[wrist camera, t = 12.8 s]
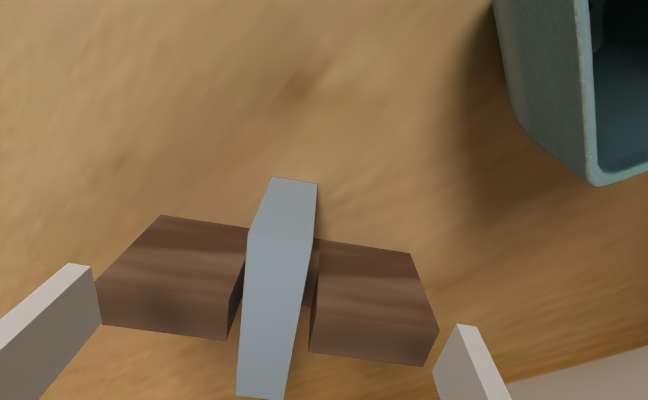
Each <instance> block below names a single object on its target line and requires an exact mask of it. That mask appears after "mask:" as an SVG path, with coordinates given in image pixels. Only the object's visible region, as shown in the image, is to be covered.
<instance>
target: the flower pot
mask: <svg viewBox="0 0 648 400" xmlns="http://www.w3.org/2000/svg"><path fill="white" fill-rule="evenodd" d="M492 6H493V11H494V16H495V21H496V27H497V33H498V38H499V44H500V49H501V54H502V60H503V66H504V71H505V77H506V83H507V89H508V94H509V99H510V103H511V107H512V109H513V112H514V115H515V117H516V119H517V121H518V123H519V124H520V126H521V127H522V129H523V130H524V131H525V132H526V134H527V135H528V136H529V137H530V138H531V139H533V140H534V141H535V142H536V143H537V144H538V145H539V146H541V147H542V148H543V149H544V150H546V151H547V152H548V153H550V154H551V155H552V156H553V157H555V158H556V159H557V160H558V161H560V162H561V163H562V164H563V165H565V166H566V167H567V168H569V169H570V170H571V171H572V172H574V173H575V174H576V175H578V176H579V177H580V178H582V179H583V180H584V181H585V182H587V183H588V184H589V185H590V186H592V187H597V188H600V187H604V186H608V185H611V184H614V183H617V182H620V181H623V180H626V179H629V178H631V177H634V176H637V175H640V174H642V173H645V172H648V0H492Z"/></svg>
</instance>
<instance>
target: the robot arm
mask: <svg viewBox="0 0 648 400" xmlns="http://www.w3.org/2000/svg"><path fill="white" fill-rule="evenodd" d="M101 323H102V319H101V314H100V309H99V304H98V300H97V295H96V290H95V285H94V280H93V275H92V271H91V266H85V265H78V264H72V263H67V264H66V265H65V266H64V267H63V268H61V269H60V270H59V271H58V272H57V273H55V274H54V275H53V276H52V277H51V278H49V279H48V280H47V281H46V282H45V283H43V284H42V285H41V286H40V287H39V288H37V289H36V290H35V291H34V292H33V293H31V294H30V295H29V296H28V297H27V298H25V299H24V300H23V301H22V302H21V303H20V304H18V305H17V306H16V307H15V308H14V309H12V310H11V311H10V312H9V313H8V314H6V315H5V316H4V317H3V318H2V319H0V400H38V399H39V398H40V397H41V396H42V394H43V393H44V392H45V391H46V390H47V388H48V387H49V386H50V385H51V384H52V382H53V381H54V380H55V379H56V378H57V376H58V375H59V374H60V373H61V371H62V370H63V369H64V368H65V367H66V365H67V364H68V363H69V362H70V361H71V359H72V358H73V357H74V356H75V355H76V353H77V352H78V351H79V350H80V348H81V347H82V346H83V345H84V344H85V342H86V341H87V340H88V339H89V338H90V336H91V335H92V334H93V333H94V332H95V330H96V329H97V328H98V327H99V325H100V324H101ZM432 374H433V377H434V381H435V384H436V387H437V391H438V394H439V398H440V400H512V399H511V397H510V395H509V393H508V391H507V389H506V387H505V384H504V382H503V380H502V378H501V376H500V374H499V372H498V370H497V368H496V366H495V364H494V362H493V360H492V358H491V356H490V354H489V351H488V349H487V347H486V345H485V343H484V341H483V339H482V337H481V335H480V333H479V331H478V329H477V327H476V326H469V325H463V324H457V323H456V325H455V327H454V329H453V331H452V333H451V335H450V337H449V339H448V341H447V342H446V344H445V346H444V348H443V350H442V352H441V354H440V356H439V358H438V360H437V362H436V364H435V366H434V368H433V370H432Z"/></svg>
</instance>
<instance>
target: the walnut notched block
mask: <svg viewBox="0 0 648 400" xmlns="http://www.w3.org/2000/svg"><path fill="white" fill-rule="evenodd" d="M249 230H250V229H248V228H242V227H236V226H229V225H223V224H216V223H210V222H203V221H197V220H190V219H184V218H178V217H171V216H165V215H160V216H159V217H158V218H157V219H156V220H155V221H154V222H153V223H152V224H151V225H150V226H149V227H148V228H147V229H146V230H145V231H144V232H143V233H142V234H141V235H140V236H139V237H138V238H137V239H136V240H135V241H134V242H133V243H132V244H131V245H130V246H129V247H128V249H127V250H126V251H125V252H124V253H123V254H122V255H121V256H120V257H119V258H118V259H117V260H116V261H115V262H114V263H113V264H112V265H111V266H110V267H109V268H108V269H107V270H106V271H105V272H104V273H103V274H102V275H101V276H100V277H99V278H98V279H97V280H96V281H95V288H96V293H97V299H98V304H99V309H100V314H101V319H102V325H109V326H117V327H125V328H132V329H140V330H147V331H155V332H162V333H170V334H177V335H185V336H193V337H200V338H208V339H215V340H223V341H226V340H227V337H228V335H229V332H230V329H231V326H232V323H233V320H234V317H235V314H236V312H237V309H238V306H239V303H240V300H241V297H242V296H243V289H244V277H245V264H246V252H247V239H248V232H249ZM301 305H307V306H311V316H310V331H309V345H308V352H313V353H321V354H329V355H336V356H344V357H351V358H359V359H366V360H374V361H381V362H389V363H397V364H404V365H412V366H419V367H423V365H424V363H425V361H426V359H427V356H428V354H429V352H430V350H431V348H432V346H433V344H434V341H435V339H436V337H437V335H438V333H439V331H440V330H439V327H438V324H437V322H436V319H435V317H434V314H433V312H432V309H431V306H430V304H429V301H428V299H427V296H426V294H425V291H424V289H423V286H422V283H421V281H420V278H419V276H418V273H417V271H416V268H415V265H414V263H413V260H412V258H411V255H410V253H403V252H397V251H390V250H384V249H378V248H371V247H365V246H358V245H352V244H345V243H339V242H332V241H326V240H319V239H313V244H312V249H311V255H310V260H309V265H308V270H307V276H306V281H305V286H304V292H303V297H302V302H301Z"/></svg>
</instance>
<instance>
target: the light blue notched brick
mask: <svg viewBox="0 0 648 400" xmlns="http://www.w3.org/2000/svg"><path fill="white" fill-rule="evenodd" d="M317 185H318V184H313V183H307V182H301V181H295V180H289V179H283V178H277V177H272V179H271V181H270V184H269V186H268V188H267V191H266V193H265V195H264V197H263V200H262V202H261V204H260V207H259V209H258V211H257V214H256V216H255V218H254V221H253V223H252V225H251V228H250V230H249V232H248V239H247V252H246V264H245V277H244V289H243V302H242V314H241V327H240V339H239V352H238V364H237V377H236V389H235V396H244V397H252V398H260V399H268V400H283V398H284V393H285V388H286V382H287V377H288V372H289V366H290V361H291V356H292V350H293V345H294V340H295V334H296V329H297V324H298V318H299V313H300V308H301V302H302V297H303V292H304V286H305V281H306V276H307V270H308V265H309V260H310V255H311V249H312V244H313V233H314V221H315V209H316V197H317Z"/></svg>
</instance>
